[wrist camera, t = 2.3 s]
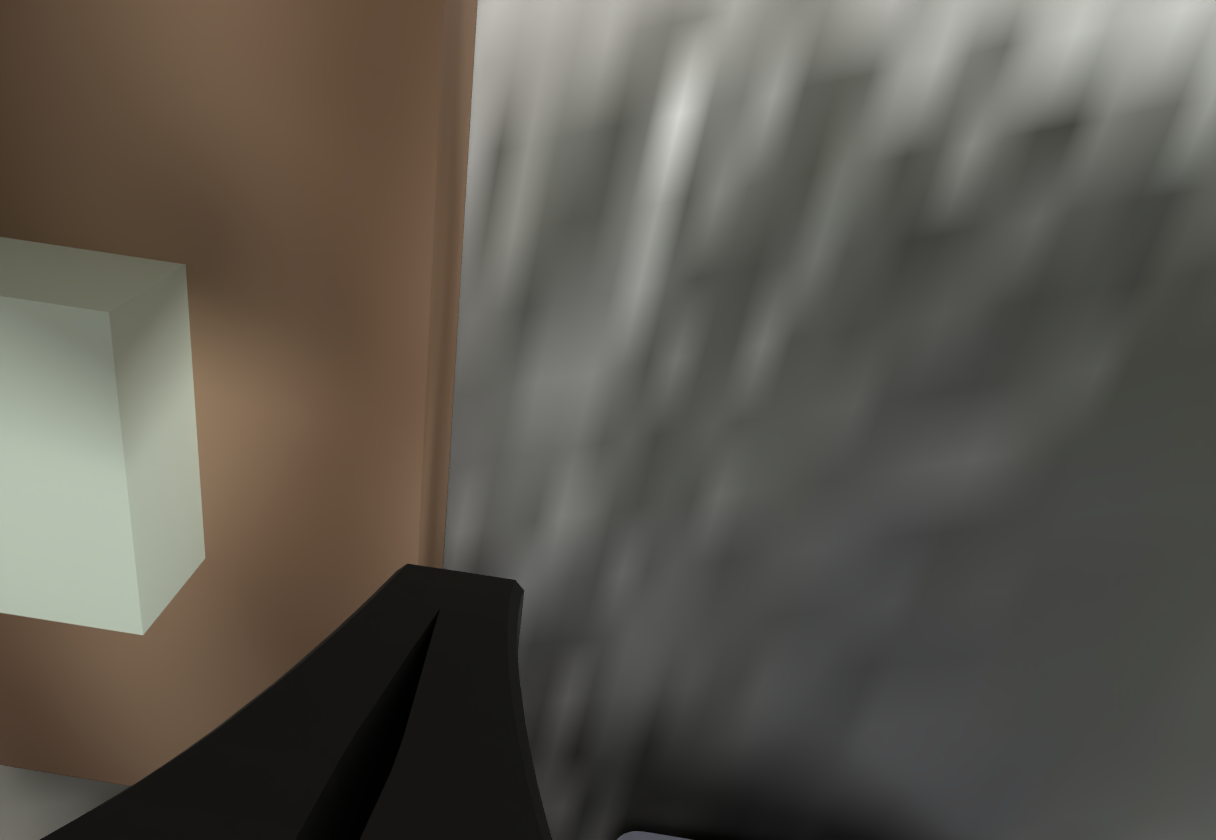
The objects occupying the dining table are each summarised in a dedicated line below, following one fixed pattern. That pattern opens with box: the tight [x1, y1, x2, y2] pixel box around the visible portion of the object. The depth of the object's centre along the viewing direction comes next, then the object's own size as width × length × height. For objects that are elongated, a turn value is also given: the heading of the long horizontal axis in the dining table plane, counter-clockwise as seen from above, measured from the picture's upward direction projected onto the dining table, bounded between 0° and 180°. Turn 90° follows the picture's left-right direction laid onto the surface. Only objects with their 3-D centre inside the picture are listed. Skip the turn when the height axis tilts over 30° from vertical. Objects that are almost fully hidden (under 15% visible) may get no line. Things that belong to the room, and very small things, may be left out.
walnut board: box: [0, 0, 477, 786], centre depth 16 cm, size 14×16×2 cm
